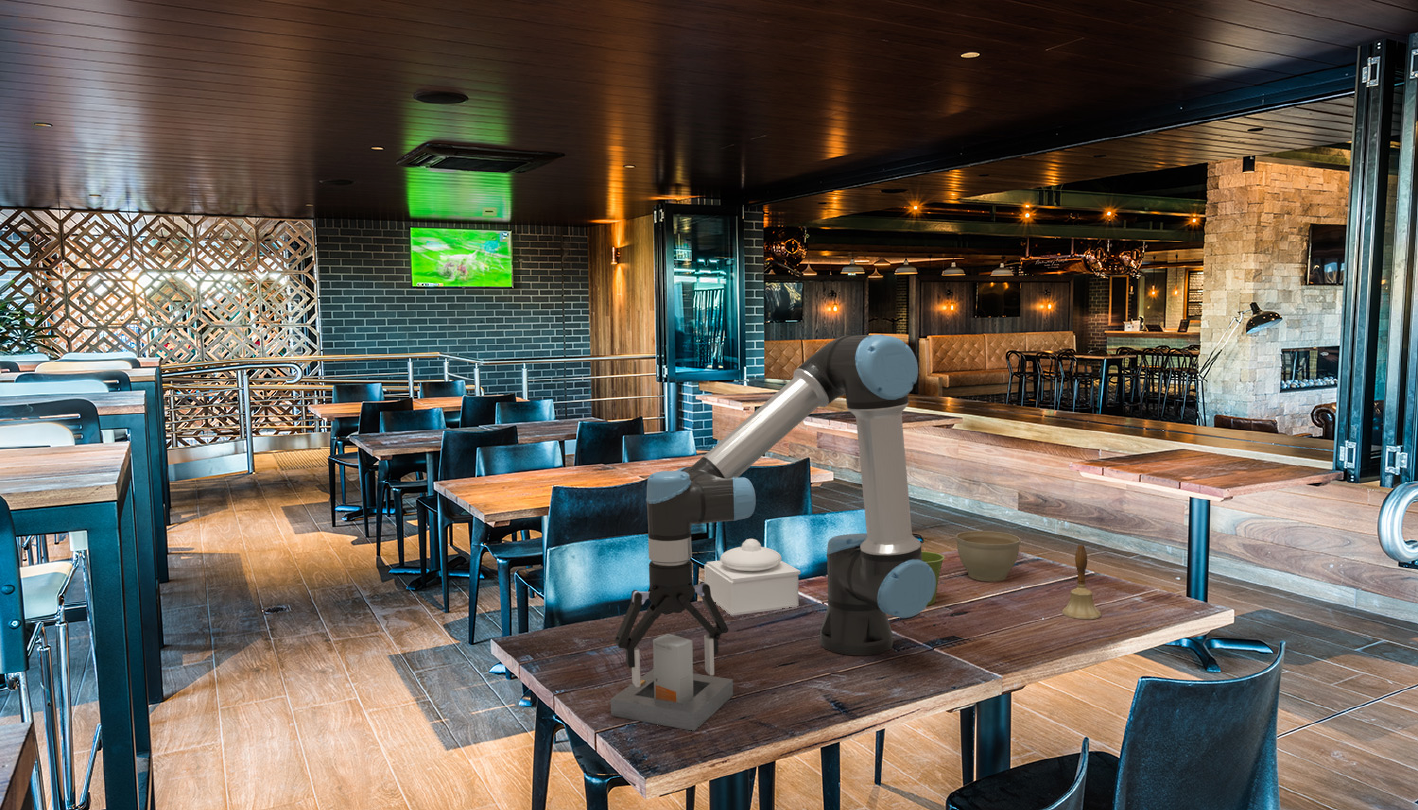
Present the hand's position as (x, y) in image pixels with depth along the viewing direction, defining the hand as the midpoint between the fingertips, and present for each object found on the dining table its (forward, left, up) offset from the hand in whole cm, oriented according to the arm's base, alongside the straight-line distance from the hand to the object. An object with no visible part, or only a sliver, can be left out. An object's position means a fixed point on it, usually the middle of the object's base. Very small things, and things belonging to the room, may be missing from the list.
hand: (673, 678), depth 161 cm
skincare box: (0, 0, -5) cm, 5 cm away
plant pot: (-27, -77, -5) cm, 82 cm away
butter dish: (+11, -63, -5) cm, 64 cm away
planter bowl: (-39, -105, -5) cm, 112 cm away
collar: (0, 0, -5) cm, 5 cm away
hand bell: (-63, -81, -5) cm, 103 cm away
